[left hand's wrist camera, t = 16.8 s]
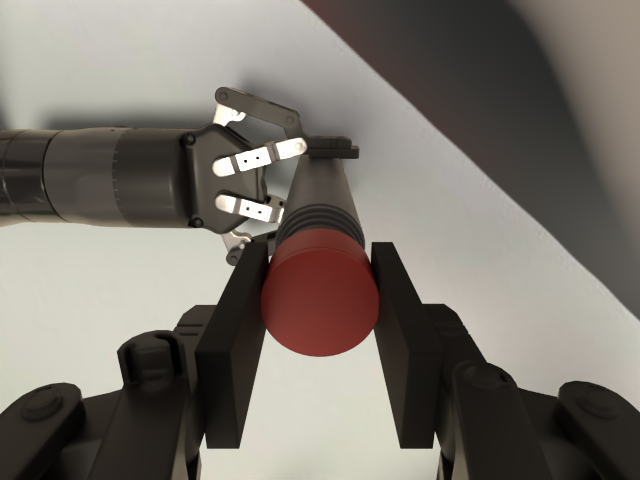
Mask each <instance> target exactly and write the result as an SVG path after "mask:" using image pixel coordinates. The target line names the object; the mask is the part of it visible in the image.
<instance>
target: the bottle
mask: <svg viewBox="0 0 640 480" xmlns="http://www.w3.org/2000/svg"><path fill="white" fill-rule="evenodd" d="M314 228H325V229H332V230H336V231H339V232H342V233H344V234H346V235H348V236H349V237H351V238H352V239H354V240H355V241H356V242H357V243H358V244H359V245H360V246H361V247H362V248H363V249H364V251H365V239H364V234H363V231H362V228H361V225H360V221H359V218H358V215H357V212H356V208H355V205H354V202H353V199H352V195H351V192H350V189H349V186H348V182H347V179H346V176H345V173H344V169H343V166H342V163H341V160H340V159H337V158H309V155H301V157H300V159H299V162H298V165H297V169H296V172H295V175H294V178H293V181H292V185H291V188H290V191H289V194H288V198H287V201H286V204H285V207H284V211H283V214H282V217H281V220H280V224H279V227H278V230H277V234H276V237H275V250H276V249H277V248H278V246H279V245H280V244H281V243H282V242H283V241H285V240H286V239H287V238H289V237H290V236H292V235H294V234H296V233H298V232H301V231H304V230H308V229H314Z"/></svg>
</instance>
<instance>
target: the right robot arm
mask: <svg viewBox="0 0 640 480" xmlns="http://www.w3.org/2000/svg"><path fill="white" fill-rule="evenodd" d="M215 99H216V101H217V106H216V111H215V115H214V119H213V123H210V124H207V125H205V126H204V127H202V128H199V129H168V128H130V127H125V126H116V127H95V128H86V129H78V130H30V129H11V130H2V131H0V227H4V226H9V225H14V224H19V223H26V222H43V223H81V224H88V225H94V226H102V227H144V228H204V229H208V230H210V231H212V232H214V233H216V234H221V236H222V238H223V240H224V243H225V245H226V248H227V250H228V254H227V256H226V261H227V263H228V264H230V265H232V266H236V264H237V262H238V260H239V258H240V256H241V254H242V252H243V250H244V248H245V246H246V244H247V242H268V256H272V255H273V254H274V252H275V237H276V234H277V230H274V231H271V232H268V233H264V234H261V235H258V236H254V237H252V236H251V235H250V234H249V233H246V232H244V233H239V232H237V231H236V230H235V228H237V227H238V226H239V225H241V224H242V223H244V222H245V221H247V220H248V219H249V218H255V219H258V220H262V221H265V222H269V223H274V222H276V223H280V220H281V217H282V214H283V211H284V207H285V204H286V201H285V200H283V199H281V198H280V197H277V196H274V195H270V194H267V186H266V183H265V180H264V176H265V172H266V164H270V163H274V162H276V161H278V160H282V159H286V158H289V157H293V156H297V155H309V158H337V159H357V158H359V147H358V146H353V145H351V140H350V139H348V138H346V137H343V136H310V135H308V134H306V133H305V131H304V130H303V127H302V124H301V121H300V116H299V114H298V112H297V111H295V110H292V109H289V108H287V107H284V106H281V105H278V104H276V103H273V102H270V101H267V100H265V99H262V98H259V97H256V96H254V95H251V94H248V93H245V92H243V91H240V90H237V89H234V88H230V87H221V88H219V89H217V91H216V93H215ZM247 114H248V115H250V116H253V117H256V118H259V119H262V120H264V121H267V122H270V123H273V124H276V125H278V126H281V127H284V130H285V133H286V135H287V138H283V139H280V140H274V141H270V142H267V143H263V144H259V145H255V146H254V145H253V144H251V143H250V142H249V141H247V140H246V139H245V138H243V137H242V136H241V135H239V134H238V133H237V132H235V131H234V130H232V129H231V128H230V127H228V123H229V122H230V121H240V120H243V119H244V118H245V117H246V116H247ZM265 201H266V202H265ZM260 211H261V212H260Z"/></svg>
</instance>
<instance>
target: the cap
mask: <svg viewBox="0 0 640 480" xmlns="http://www.w3.org/2000/svg"><path fill="white" fill-rule="evenodd" d="M260 298H261V315H262V320H263V322H264V325H265V326H266V328H267V330H268V331H269V333H270V334H271V335H272V337H273V338H274V339H275V340H276V341H278V342H279V343H280V344H281V345H283V346H284V347H286V348H288V349H289V350H292V351H294V352H296V353H299V354H302V355H307V356H315V357H325V356H333V355H337V354H340V353H343V352H346V351H348V350H350V349H352V348H354V347H355V346H357V345H358V344H360V343H361V342H362V341H363V340H364V339H365V338H366V337H367V336H368V335H369V334H370V332H371V331H372V329H373V328H374V326H375V324H376V322H377V319H378V309H379V291H378V288H377V284H376V281H375V277H374V274H373V271H372V267H371V264H370V261H369V258H368V256H367V254H366V253H365V251H364V249H363V248H362V247H361V246H360V245H359V244H358V243H357V242H356V241H355V240H354V239H352V238H351V237H349V236H348V235H346V234H344V233H342V232H339V231H336V230H332V229H325V228H314V229H308V230H304V231H301V232H298V233H296V234H294V235H292V236H290V237H289V238H287V239H286V240H285V241H283V242H282V243H281V244H280V245H279V246H278V248H277V249H276V250H275V252H274V254H273V255H272V257H271V260H270V263H269V266H268V269H267V273H266V276H265V279H264V283H263V286H262V289H261V294H260Z"/></svg>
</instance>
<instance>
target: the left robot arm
mask: <svg viewBox="0 0 640 480" xmlns="http://www.w3.org/2000/svg"><path fill="white" fill-rule="evenodd" d="M268 266H269V256H268V242H247V244H246V246H245V248H244V250H243V252H242V254H241V256H240V258H239V260H238V262H237V264H236V266H235V269H234V271H233V273H232V275H231V277H230V279H229V281H228V283H227V285H226V287H225V289H224V291H223V293H222V295H221V298H220V300H219V302H218V304H217V305H195V306H194V307H192V308H191V309H190V310H188V311H187V312H186V313H184V314H183V316H182V317H181V319H180V320H179V322H178V324H177V327H175V329H174V330H173V331H169V330H155V331H150V332H145V333H142V334H140V335H137V336H135V337H132V338H131V339H129V340H128V341H127V342H125V343H124V344H122V346H121V347H120V348H119V349H118V351H117V355H118V359H119V364H120V369H121V373H122V378H123V383H124V385H123V388H122V389H121V390H117V391H114V392H111V393H106V394H102V395H97V396H93V397H88V398H84V399H83V398H82V394H81V390H80V389H79V388H78V387H77V386H76V385H74V384H69V383H55V384H49V385H46V386H42V387H39V388H36V389H34V390H32V391H30V392H28V393H26V394H24V395H23V396H21V397H20V398H19V399H17V400H16V401H15V402H13V403H12V404H11V405H10V406H9V407H8V408H6V409H5V410H4V411H3V412H2V413H1V414H0V480H200V475H201V459H200V452H199V448H200V445H201V442H202V439H203V436H204V433H205V437H206V444H207V449H239V447H240V442H241V438H242V434H243V429H244V425H245V420H246V416H247V411H248V407H249V403H250V398H251V394H252V389H253V385H254V380H255V376H256V372H257V367H258V363H259V358H260V354H261V349H262V345H263V341H264V336H265V332H266V326H265V325H264V322H263V320H262V315H261V298H260V294H261V289H262V286H263V283H264V279H265V276H266V273H267V269H268ZM371 267H372V271H373V274H374V277H375V281H376V284H377V288H378V291H379V309H378V319H377V322H376V324H375V326H374V328H373V329H374V333H375V338H376V342H377V347H378V351H379V355H380V360H381V364H382V369H383V373H384V378H385V382H386V386H387V391H388V395H389V400H390V404H391V409H392V413H393V417H394V422H395V426H396V431H397V435H398V440H399V444H400V448H401V449H433V442H434V434H435V432H436V435H437V438H438V441H439V444H440V447H441V452H440V459H439V466H438V473H437V480H640V412H639V411H638V410H637V409H636V408H635V407H634V406H632V405H631V404H630V403H629V402H628V401H627V400H625V399H624V398H623V397H621V396H620V395H619V394H617V393H615V392H613V391H611V390H609V389H607V388H605V387H603V386H600V385H596V384H593V383H590V382H582V381H572V382H567V383H565V384H564V385H562V386H561V387H560V389H559V392H558V396H557V397H555V396H550V395H545V394H541V393H536V392H532V391H528V390H524V389H521V388H518V387H517V384H516V383H515V381H514V380H513V378H512V377H511V375H509V374H508V373H507V372H505V371H504V370H503V369H502V368H499V367H497V366H495V365H493V364H491V363H487V362H486V360H485V358H484V357H483V355H482V353H481V352H480V350H479V349H478V347H477V345H476V344H475V342H474V341H473V339H472V337H471V336H470V334H468V331H467V329H466V328H465V326H464V325H463V323H462V321H461V319H460V318H459V316H458V315H457V313H456V312H455V311H453V310H452V309H450V308H449V307H448V306H446V305H445V304H422V303H421V300H420V298H419V296H418V294H417V292H416V290H415V288H414V286H413V284H412V282H411V280H410V278H409V276H408V273H407V271H406V269H405V267H404V265H403V263H402V261H401V259H400V257H399V255H398V253H397V251H396V249H395V247H394V244H393V242H372V248H371Z"/></svg>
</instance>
